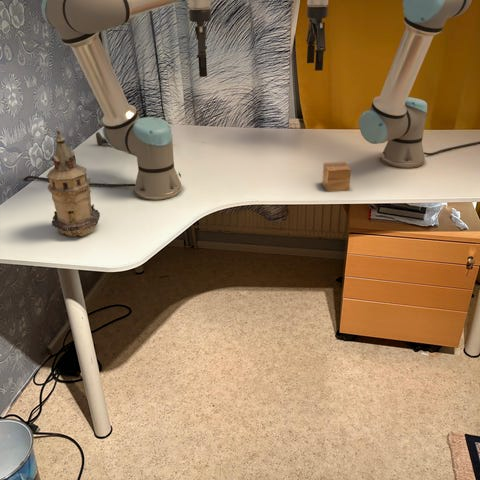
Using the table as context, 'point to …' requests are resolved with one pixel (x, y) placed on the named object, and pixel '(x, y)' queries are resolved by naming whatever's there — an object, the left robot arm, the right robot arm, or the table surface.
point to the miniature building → (70, 193)
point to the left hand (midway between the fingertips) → (202, 72)
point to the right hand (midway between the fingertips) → (314, 66)
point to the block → (336, 176)
